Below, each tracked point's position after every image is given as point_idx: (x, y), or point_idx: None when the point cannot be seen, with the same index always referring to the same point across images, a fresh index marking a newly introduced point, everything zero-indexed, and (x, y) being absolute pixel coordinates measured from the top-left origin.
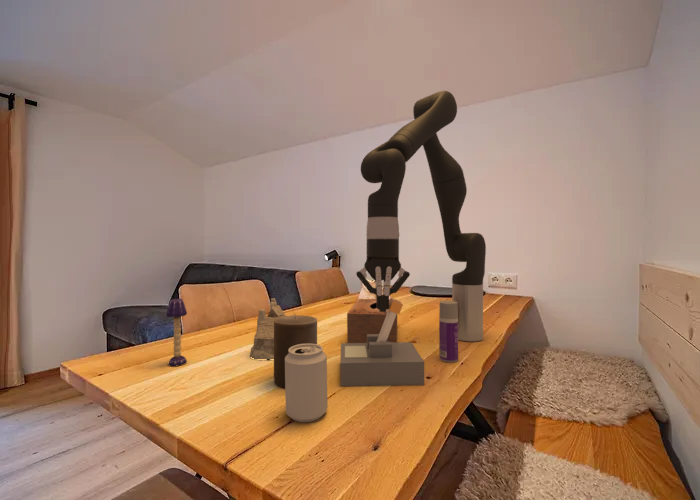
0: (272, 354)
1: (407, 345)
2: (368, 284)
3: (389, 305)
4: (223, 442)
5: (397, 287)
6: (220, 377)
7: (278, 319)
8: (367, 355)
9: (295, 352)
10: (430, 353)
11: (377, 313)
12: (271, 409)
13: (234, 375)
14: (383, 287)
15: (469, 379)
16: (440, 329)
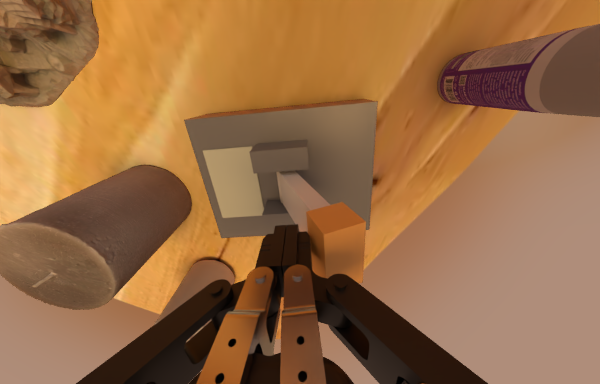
0: (31, 97)
1: (359, 133)
2: (200, 362)
3: (314, 250)
4: (165, 306)
5: (359, 337)
6: (33, 192)
7: (11, 276)
8: (264, 203)
9: (156, 321)
10: (434, 25)
11: None
12: (172, 266)
13: (47, 184)
14: (284, 302)
15: (442, 186)
16: (498, 85)
